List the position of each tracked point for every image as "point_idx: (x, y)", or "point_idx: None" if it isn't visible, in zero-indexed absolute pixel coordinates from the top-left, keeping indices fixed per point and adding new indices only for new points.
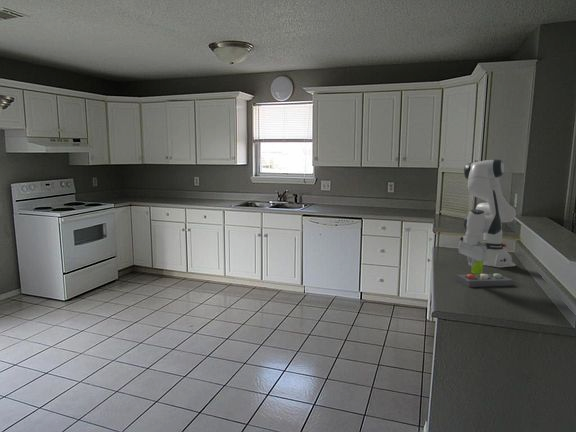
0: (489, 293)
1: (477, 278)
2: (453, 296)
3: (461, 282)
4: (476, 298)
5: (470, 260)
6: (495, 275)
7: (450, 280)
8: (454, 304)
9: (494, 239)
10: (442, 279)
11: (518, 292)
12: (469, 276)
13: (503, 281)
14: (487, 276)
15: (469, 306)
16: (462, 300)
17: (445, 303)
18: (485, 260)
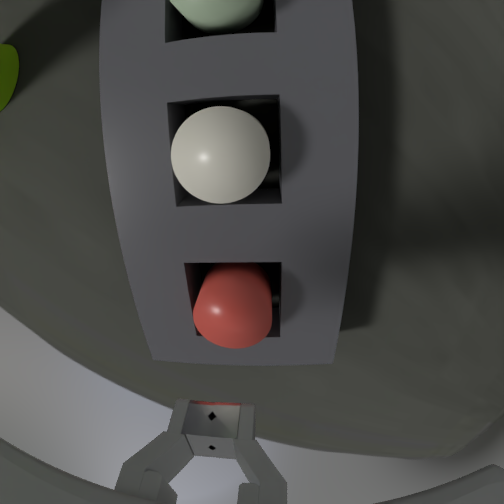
0: (461, 277)
1: (262, 255)
2: (408, 427)
3: None
4: (466, 369)
5: (174, 460)
6: (234, 13)
7: None
8: (452, 432)
9: None
10: (162, 385)
11: (484, 54)
12: (254, 339)
13: (349, 10)
14: (268, 142)
15: (484, 406)
16: (448, 413)
17: (434, 446)
18: (500, 482)
